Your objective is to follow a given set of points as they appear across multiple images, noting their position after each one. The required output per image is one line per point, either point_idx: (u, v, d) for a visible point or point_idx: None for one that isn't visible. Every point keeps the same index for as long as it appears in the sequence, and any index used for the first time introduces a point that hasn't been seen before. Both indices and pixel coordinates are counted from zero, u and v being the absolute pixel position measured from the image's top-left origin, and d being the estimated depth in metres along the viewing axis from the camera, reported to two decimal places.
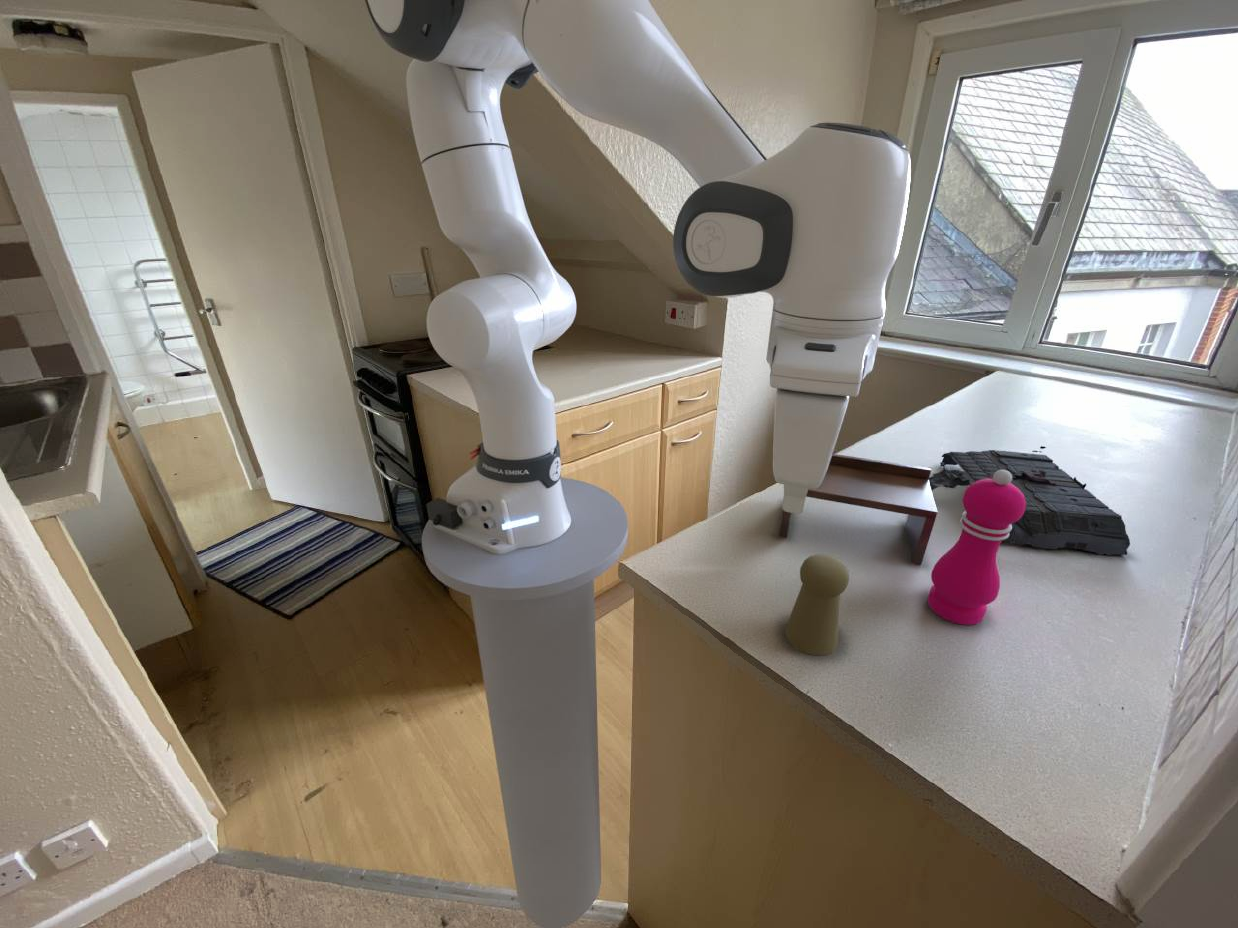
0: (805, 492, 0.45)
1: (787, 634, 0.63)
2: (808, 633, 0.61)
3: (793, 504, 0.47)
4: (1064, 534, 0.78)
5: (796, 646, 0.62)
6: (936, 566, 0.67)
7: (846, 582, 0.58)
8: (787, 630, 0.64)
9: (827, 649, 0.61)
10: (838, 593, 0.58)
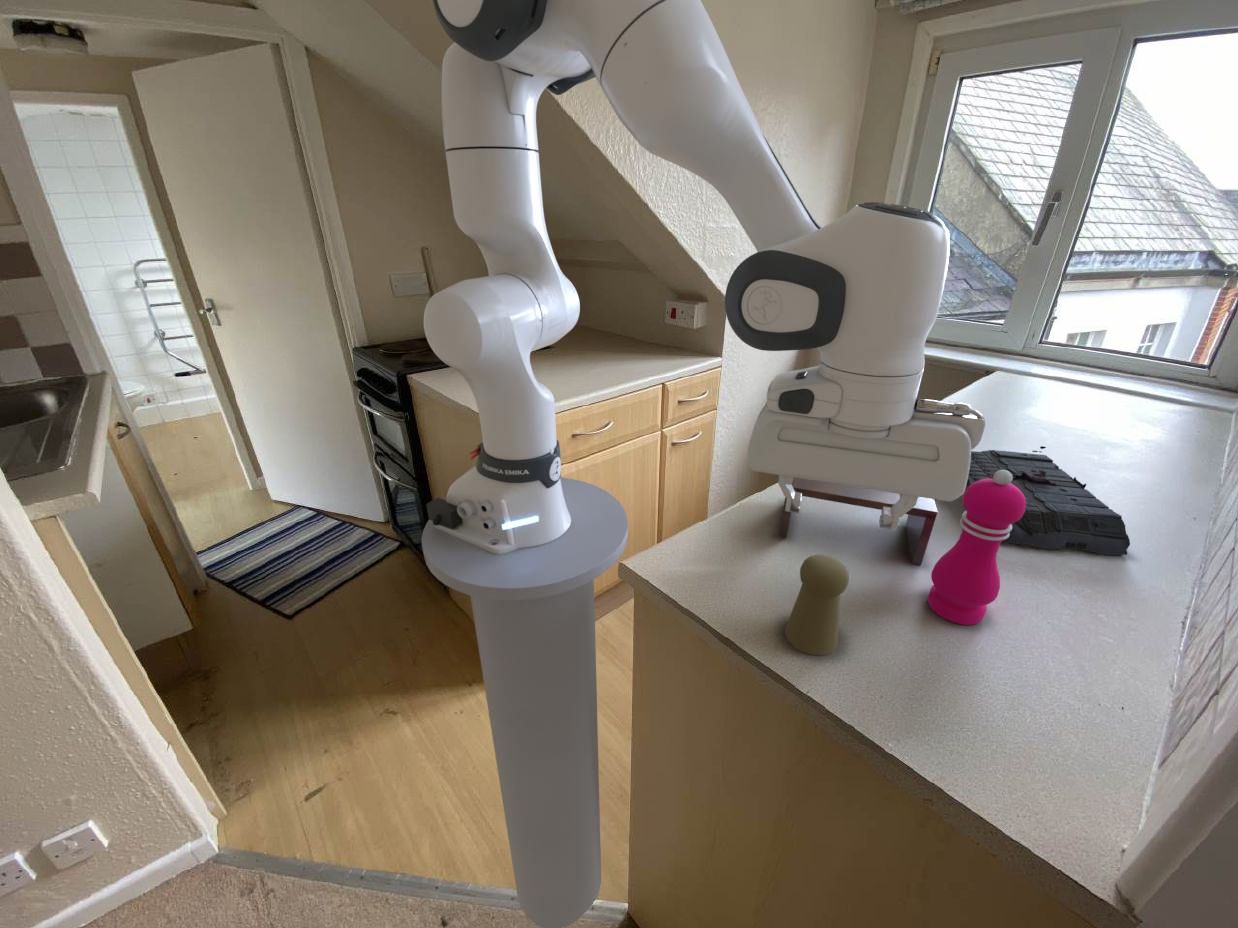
0: (782, 490, 0.56)
1: (787, 634, 0.63)
2: (808, 633, 0.61)
3: None
4: (1064, 534, 0.78)
5: (796, 646, 0.62)
6: (936, 566, 0.67)
7: (846, 582, 0.58)
8: (787, 630, 0.64)
9: (827, 649, 0.61)
10: (838, 593, 0.58)
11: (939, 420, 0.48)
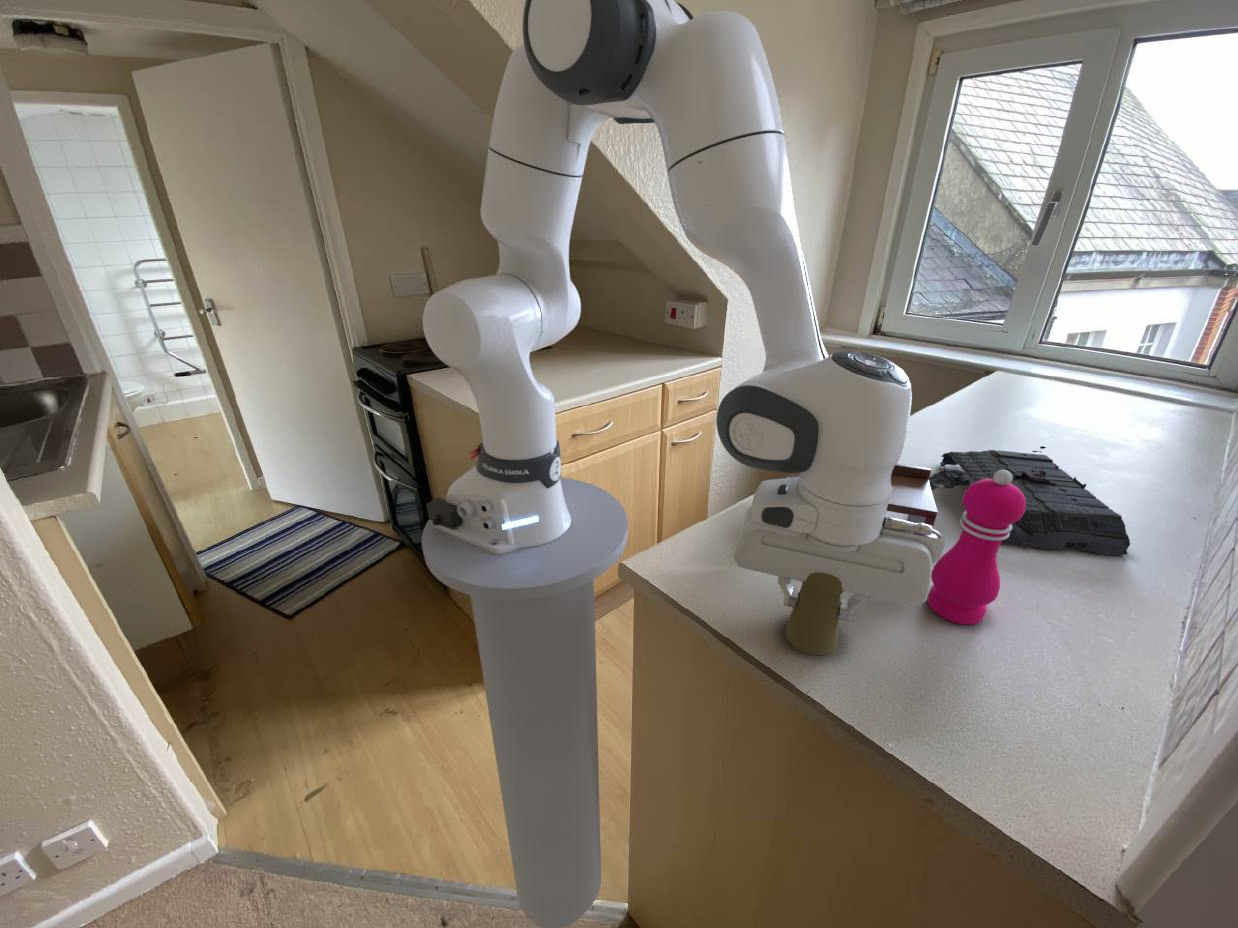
0: (781, 588, 0.61)
1: (787, 634, 0.63)
2: (808, 633, 0.61)
3: None
4: (1064, 534, 0.78)
5: (796, 646, 0.62)
6: (936, 566, 0.67)
7: None
8: (787, 630, 0.64)
9: (827, 649, 0.61)
10: (838, 593, 0.58)
11: (904, 537, 0.54)
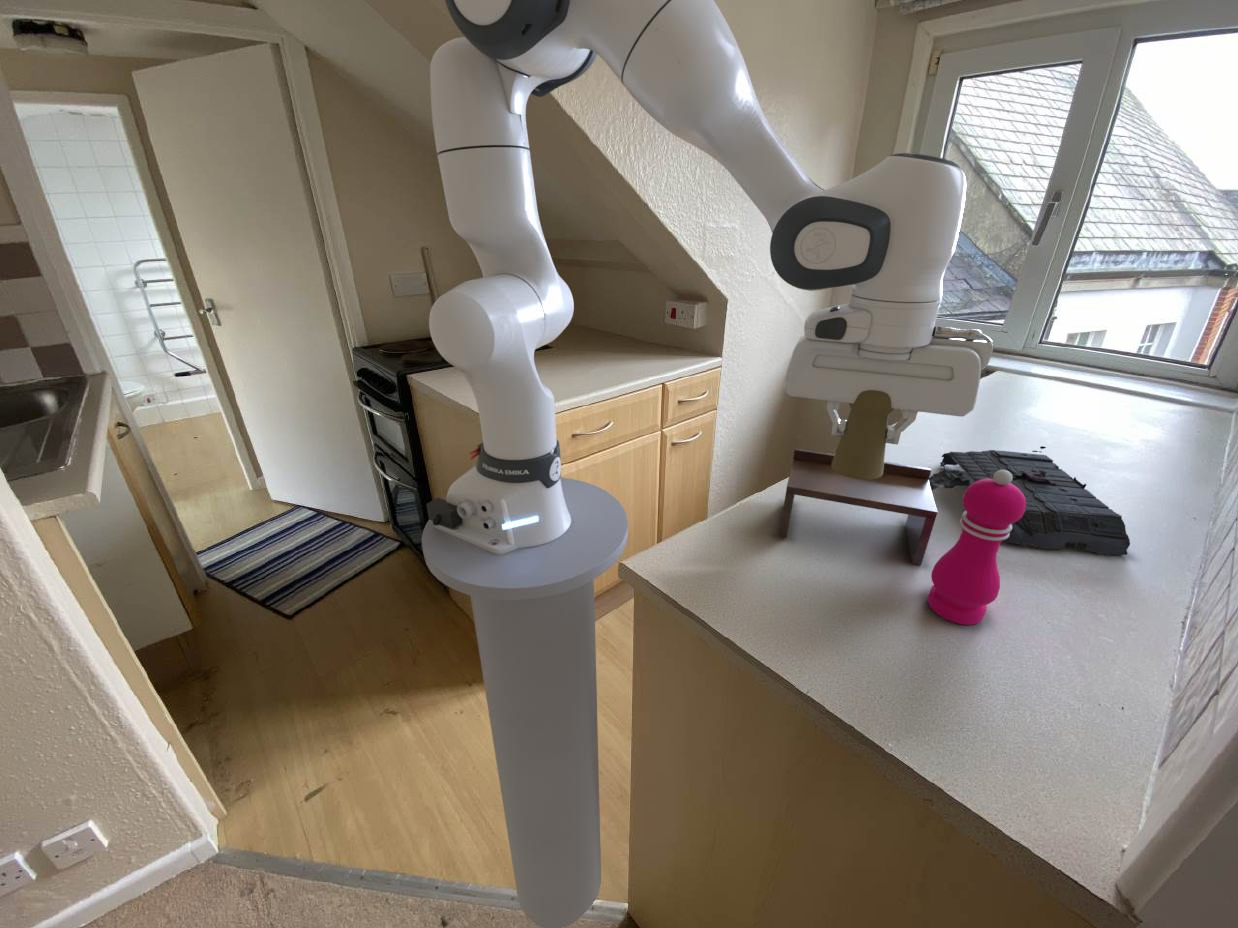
0: None
1: (834, 465, 0.66)
2: (856, 456, 0.63)
3: (832, 427, 0.65)
4: (1064, 534, 0.78)
5: (843, 473, 0.65)
6: (936, 566, 0.67)
7: None
8: (834, 462, 0.66)
9: (874, 473, 0.63)
10: (887, 411, 0.60)
11: (953, 345, 0.57)
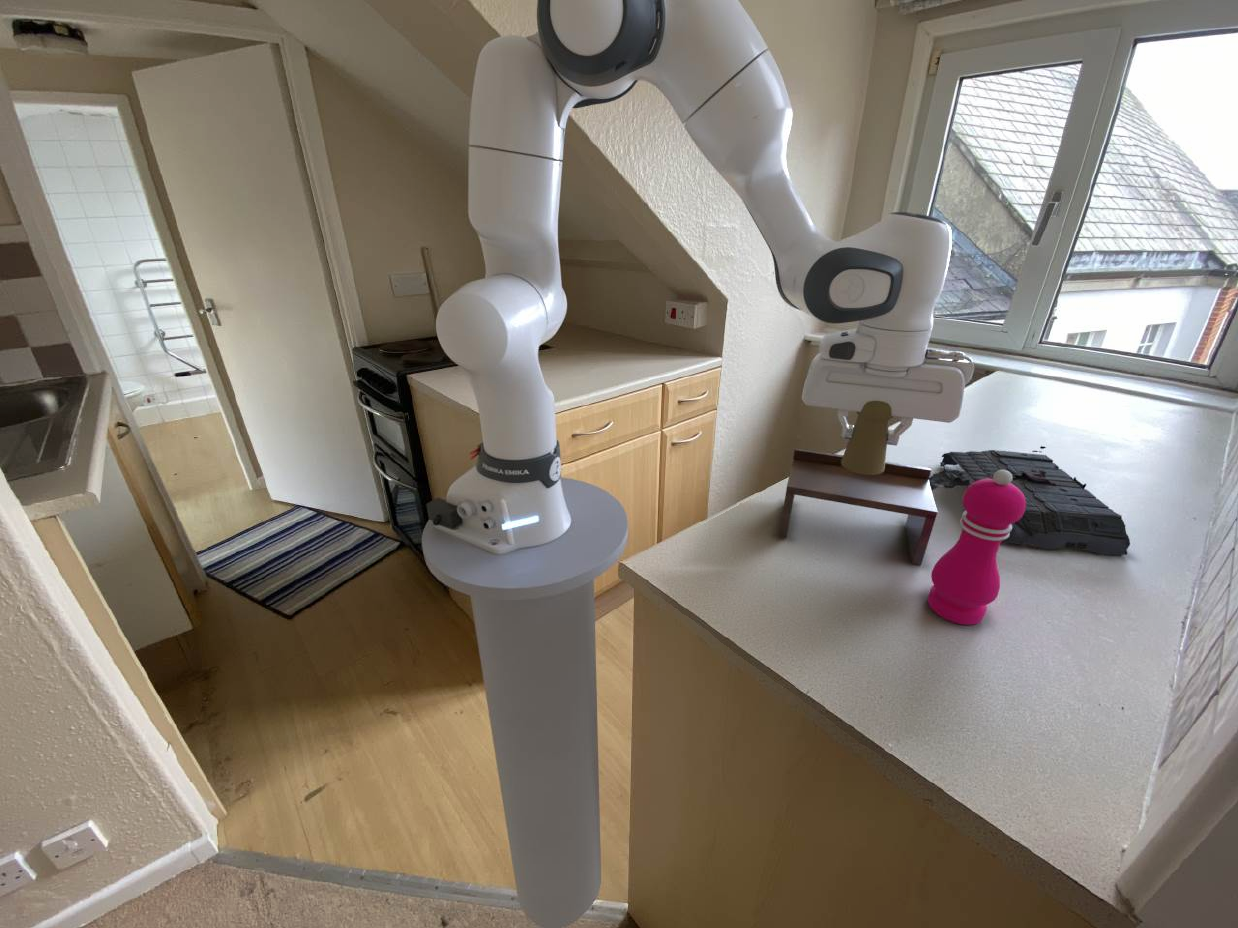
0: (840, 422, 0.77)
1: (843, 463, 0.79)
2: (862, 456, 0.76)
3: (842, 431, 0.78)
4: (1064, 534, 0.78)
5: (852, 470, 0.77)
6: (936, 566, 0.67)
7: None
8: (843, 460, 0.79)
9: (877, 470, 0.76)
10: (888, 418, 0.73)
11: (942, 364, 0.69)
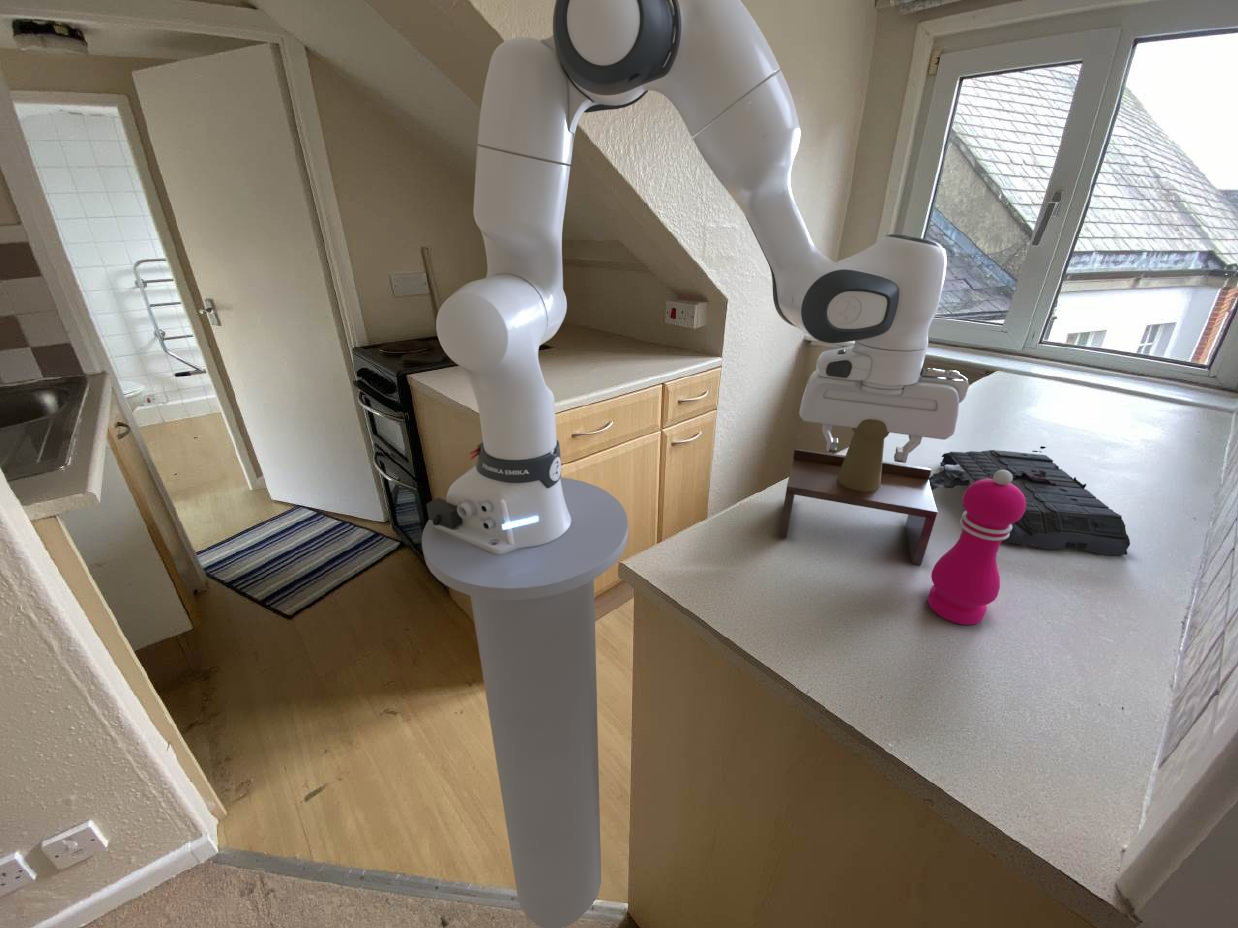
0: (824, 435, 0.78)
1: (840, 479, 0.80)
2: (858, 472, 0.77)
3: (826, 444, 0.80)
4: (1064, 534, 0.78)
5: (848, 486, 0.78)
6: (936, 566, 0.67)
7: None
8: (839, 476, 0.80)
9: (873, 486, 0.77)
10: (883, 436, 0.74)
11: (937, 382, 0.70)
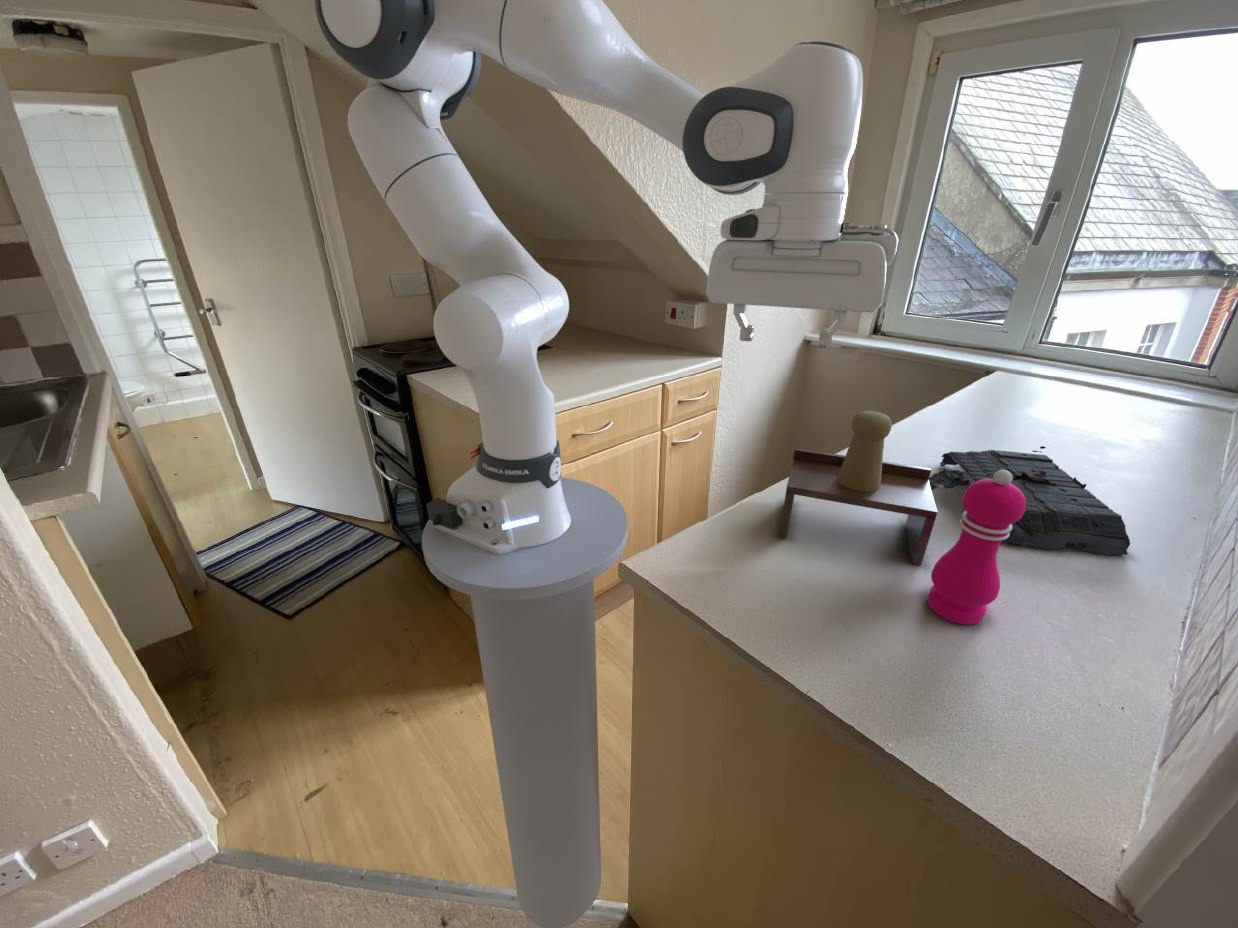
0: None
1: (840, 479, 0.80)
2: (858, 472, 0.77)
3: None
4: (1064, 534, 0.78)
5: (848, 486, 0.78)
6: (936, 566, 0.67)
7: (890, 427, 0.74)
8: (839, 476, 0.80)
9: (873, 486, 0.77)
10: (883, 436, 0.74)
11: (861, 240, 0.58)
